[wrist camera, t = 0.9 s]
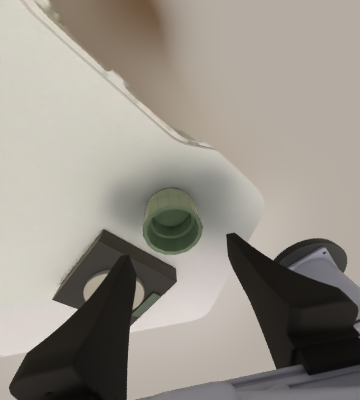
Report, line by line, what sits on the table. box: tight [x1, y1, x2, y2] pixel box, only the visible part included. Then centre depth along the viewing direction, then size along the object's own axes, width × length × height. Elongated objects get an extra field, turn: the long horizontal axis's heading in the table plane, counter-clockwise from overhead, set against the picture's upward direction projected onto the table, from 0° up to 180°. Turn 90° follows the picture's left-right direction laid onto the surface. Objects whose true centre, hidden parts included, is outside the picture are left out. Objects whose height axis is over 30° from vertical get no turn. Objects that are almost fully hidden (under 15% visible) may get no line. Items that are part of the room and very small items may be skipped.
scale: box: [52, 230, 177, 326], centre depth 24 cm, size 11×11×3 cm
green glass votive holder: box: [143, 188, 203, 255], centre depth 20 cm, size 6×6×4 cm
